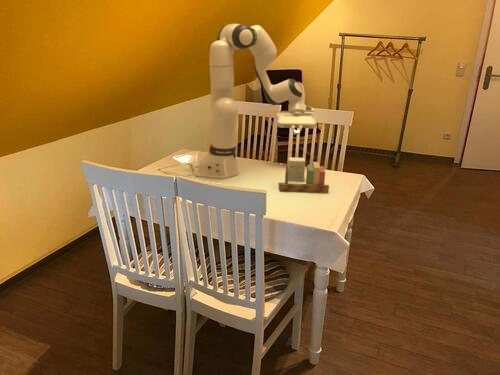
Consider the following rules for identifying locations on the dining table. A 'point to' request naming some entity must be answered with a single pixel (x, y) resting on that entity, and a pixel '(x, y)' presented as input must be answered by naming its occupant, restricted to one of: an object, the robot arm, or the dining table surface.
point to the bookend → (285, 176)
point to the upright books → (315, 174)
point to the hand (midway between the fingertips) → (296, 134)
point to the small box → (296, 169)
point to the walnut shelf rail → (304, 188)
